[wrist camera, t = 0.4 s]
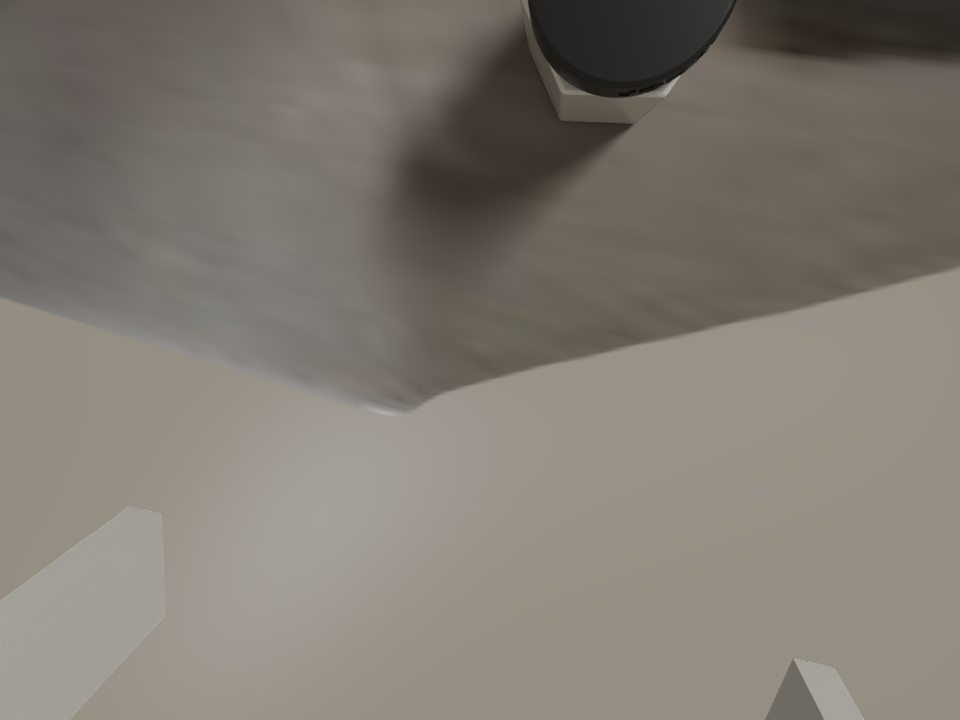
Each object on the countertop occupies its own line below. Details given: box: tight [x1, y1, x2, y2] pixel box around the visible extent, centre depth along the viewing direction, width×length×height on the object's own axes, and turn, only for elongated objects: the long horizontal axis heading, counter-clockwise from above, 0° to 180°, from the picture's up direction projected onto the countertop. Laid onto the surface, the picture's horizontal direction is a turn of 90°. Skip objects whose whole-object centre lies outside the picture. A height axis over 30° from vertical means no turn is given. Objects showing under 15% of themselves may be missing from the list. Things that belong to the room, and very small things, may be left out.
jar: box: [520, 0, 737, 124], centre depth 26 cm, size 9×8×12 cm
